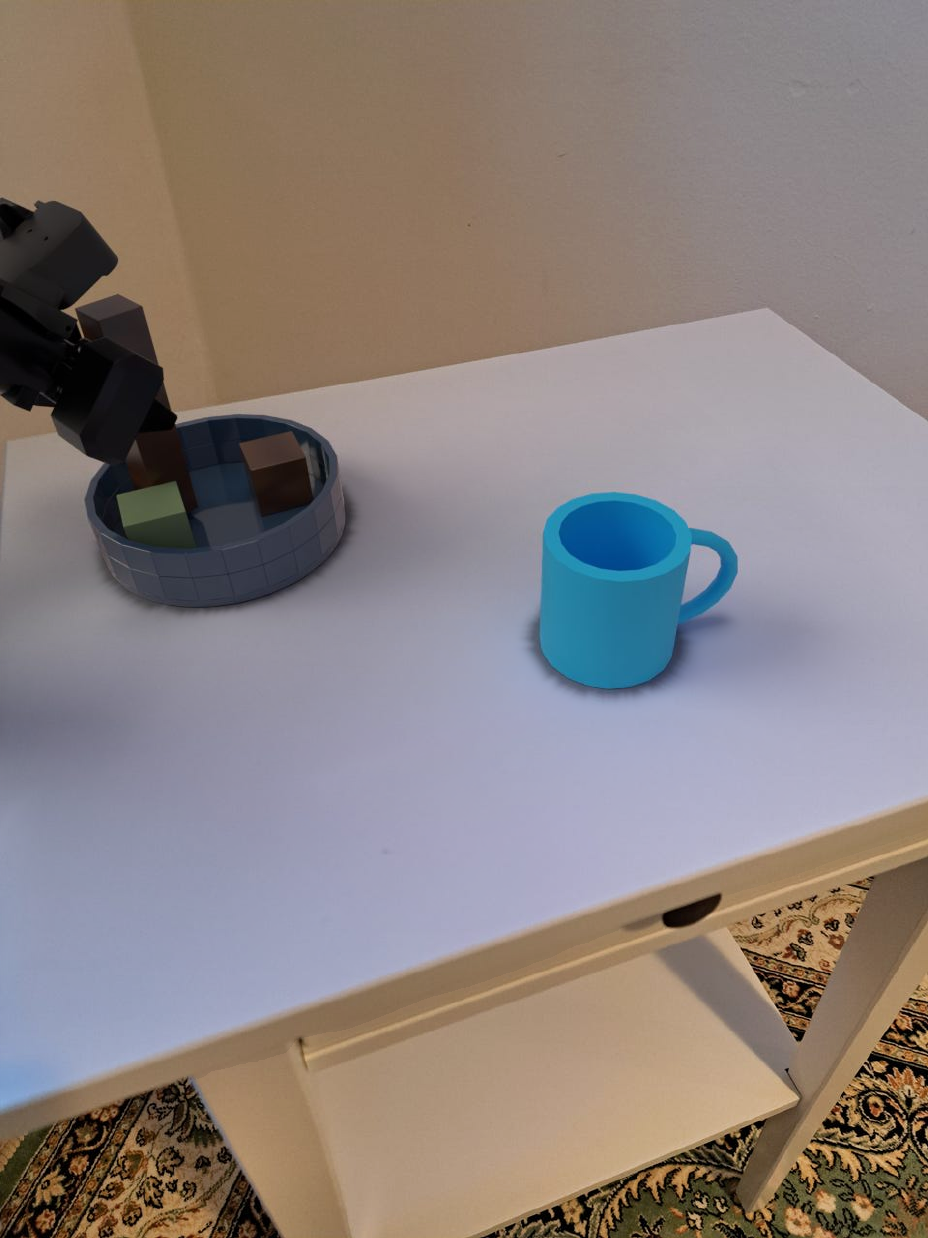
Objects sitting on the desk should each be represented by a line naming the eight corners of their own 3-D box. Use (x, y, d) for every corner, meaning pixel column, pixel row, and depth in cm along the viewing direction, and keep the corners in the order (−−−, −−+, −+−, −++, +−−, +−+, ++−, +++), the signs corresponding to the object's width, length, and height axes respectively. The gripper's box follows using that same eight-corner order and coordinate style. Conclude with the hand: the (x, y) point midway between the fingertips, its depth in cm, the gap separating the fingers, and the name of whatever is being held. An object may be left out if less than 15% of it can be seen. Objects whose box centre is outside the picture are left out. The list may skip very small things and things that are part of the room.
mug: (563, 700, 51) (569, 593, 45) (523, 609, 57) (525, 504, 51) (755, 661, 53) (784, 554, 47) (697, 577, 58) (717, 472, 53)
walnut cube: (261, 517, 64) (250, 470, 62) (249, 488, 67) (238, 442, 64) (314, 503, 65) (306, 456, 63) (300, 476, 68) (291, 430, 65)
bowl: (120, 637, 56) (98, 583, 53) (94, 496, 68) (74, 446, 65) (376, 564, 61) (369, 510, 58) (310, 444, 72) (301, 395, 69)
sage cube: (140, 574, 60) (123, 526, 57) (133, 541, 63) (116, 494, 60) (199, 558, 61) (185, 511, 58) (189, 527, 64) (175, 480, 61)
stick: (162, 525, 63) (98, 321, 53) (141, 509, 64) (74, 307, 54) (199, 507, 64) (142, 305, 54) (176, 492, 66) (118, 293, 56)
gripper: (74, 201, 41) (298, 346, 54) (-81, 137, 51) (141, 273, 64) (-25, 415, 42) (218, 507, 56) (-157, 312, 52) (75, 410, 65)
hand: (160, 414), depth 60 cm, fingers closed on stick, 3 cm apart
